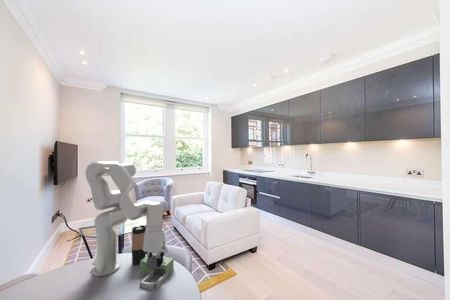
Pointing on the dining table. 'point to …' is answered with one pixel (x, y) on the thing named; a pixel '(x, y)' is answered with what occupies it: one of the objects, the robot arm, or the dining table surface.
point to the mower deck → (156, 272)
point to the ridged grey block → (152, 261)
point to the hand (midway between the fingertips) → (155, 264)
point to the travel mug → (138, 244)
